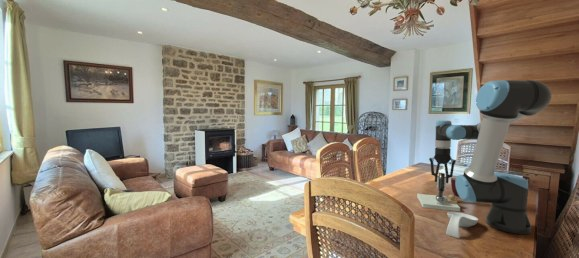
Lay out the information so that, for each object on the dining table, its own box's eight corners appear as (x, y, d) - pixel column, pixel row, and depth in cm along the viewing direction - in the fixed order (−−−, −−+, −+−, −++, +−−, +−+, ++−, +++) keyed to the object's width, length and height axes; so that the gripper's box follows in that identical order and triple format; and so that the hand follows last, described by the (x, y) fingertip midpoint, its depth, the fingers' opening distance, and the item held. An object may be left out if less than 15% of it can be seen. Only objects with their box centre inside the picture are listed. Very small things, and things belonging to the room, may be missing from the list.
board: (460, 211, 129) (460, 199, 129) (423, 207, 134) (423, 195, 134) (449, 200, 146) (450, 189, 146) (417, 196, 151) (417, 186, 151)
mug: (472, 196, 153) (473, 180, 152) (469, 199, 147) (470, 182, 147) (452, 192, 161) (453, 177, 160) (448, 195, 155) (449, 179, 154)
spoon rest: (450, 216, 123) (450, 202, 123) (479, 224, 115) (480, 208, 114) (436, 233, 106) (437, 216, 106) (470, 243, 98) (471, 225, 97)
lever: (444, 201, 132) (445, 179, 131) (435, 200, 134) (436, 178, 133) (445, 193, 145) (446, 173, 145) (437, 192, 147) (438, 172, 147)
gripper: (459, 147, 143) (458, 188, 144) (427, 145, 151) (426, 184, 153) (459, 149, 136) (458, 192, 138) (426, 147, 145) (425, 187, 147)
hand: (441, 188), depth 145 cm, fingers closed on lever, 3 cm apart
